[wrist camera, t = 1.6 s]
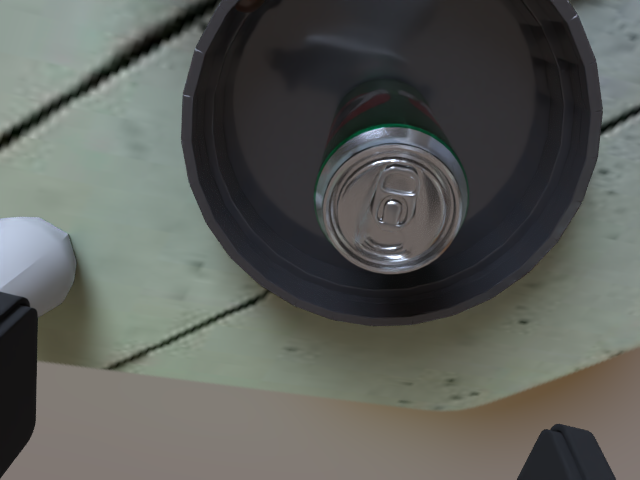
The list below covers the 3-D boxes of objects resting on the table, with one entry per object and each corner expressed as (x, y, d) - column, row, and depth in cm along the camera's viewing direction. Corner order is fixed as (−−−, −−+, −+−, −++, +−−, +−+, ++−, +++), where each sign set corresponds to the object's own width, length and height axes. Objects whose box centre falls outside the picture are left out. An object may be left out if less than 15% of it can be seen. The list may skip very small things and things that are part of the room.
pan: (402, -177, 24) (410, -213, 19) (640, 137, 28) (687, 162, 24) (137, 117, 29) (100, 137, 25) (367, 338, 34) (367, 386, 30)
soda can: (324, 166, 29) (298, 269, 18) (342, 67, 27) (325, 117, 16) (419, 184, 29) (450, 298, 18) (444, 86, 27) (496, 149, 16)
